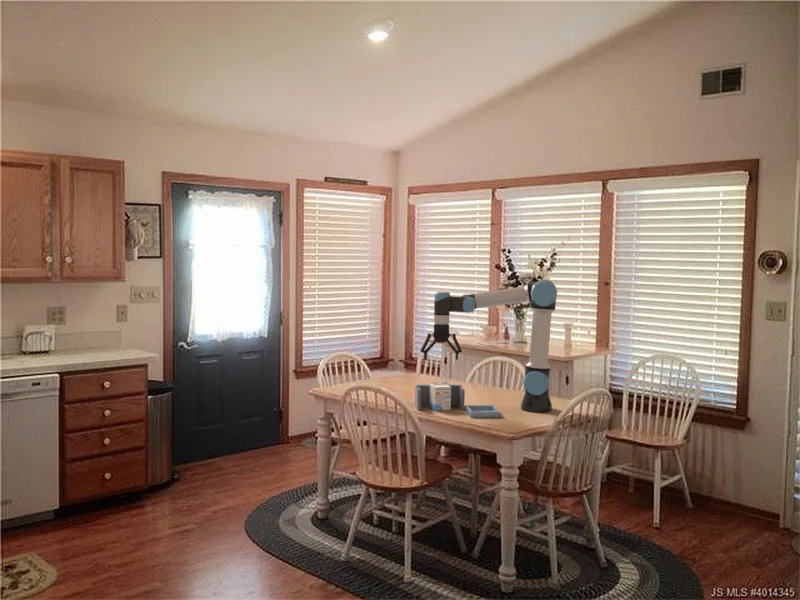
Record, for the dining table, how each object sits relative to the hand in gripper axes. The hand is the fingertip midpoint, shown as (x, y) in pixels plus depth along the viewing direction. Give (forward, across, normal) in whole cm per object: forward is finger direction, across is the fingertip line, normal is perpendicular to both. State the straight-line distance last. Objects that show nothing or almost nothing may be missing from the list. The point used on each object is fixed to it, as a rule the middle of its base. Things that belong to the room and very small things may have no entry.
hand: (440, 366), depth 349 cm
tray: (+21, -19, +12) cm, 30 cm away
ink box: (+21, 0, -2) cm, 21 cm away
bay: (+21, -1, -4) cm, 22 cm away
